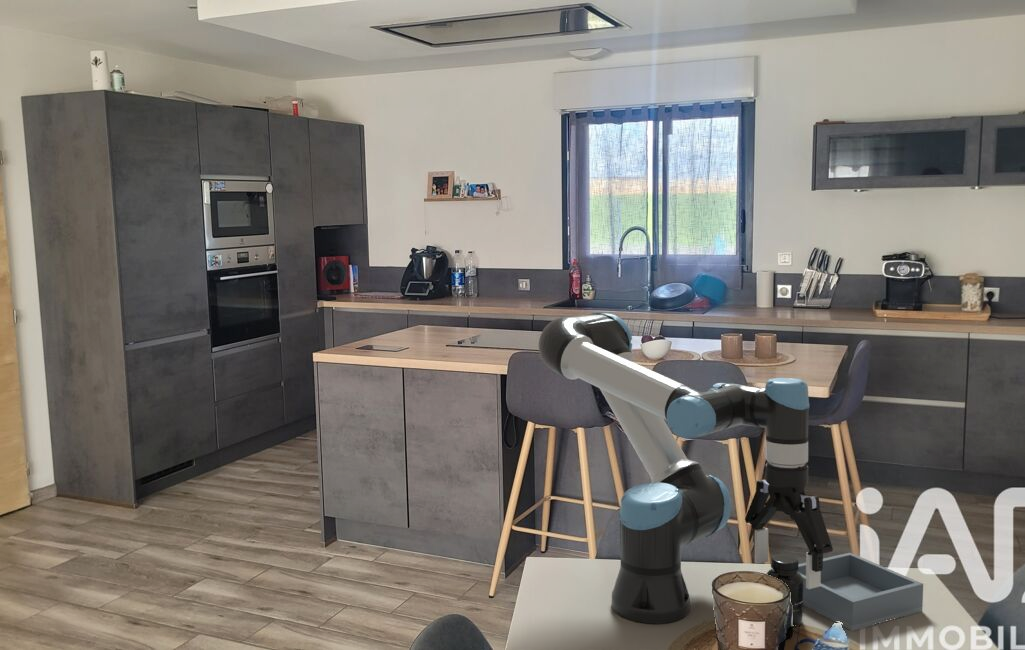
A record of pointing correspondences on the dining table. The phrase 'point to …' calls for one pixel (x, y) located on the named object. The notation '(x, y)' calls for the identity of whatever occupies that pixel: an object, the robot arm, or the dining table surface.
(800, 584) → the supplement bottle
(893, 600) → the open box
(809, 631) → the dining table surface
